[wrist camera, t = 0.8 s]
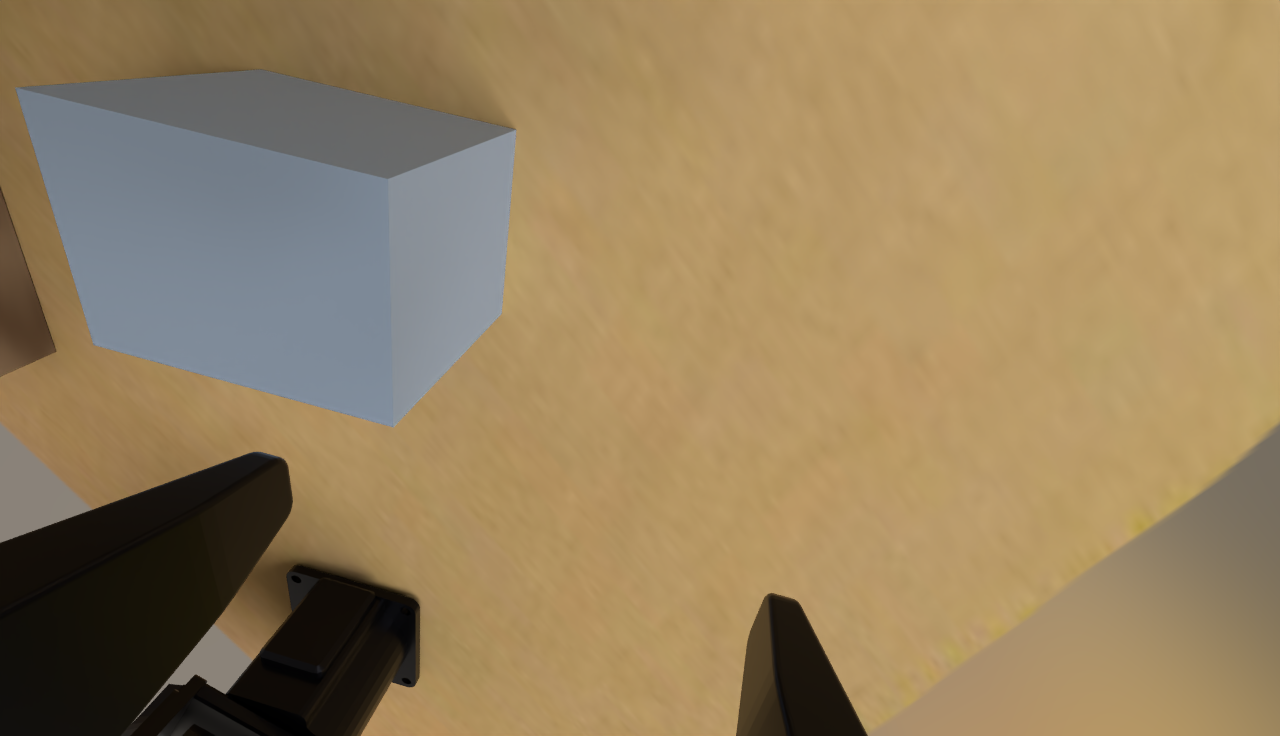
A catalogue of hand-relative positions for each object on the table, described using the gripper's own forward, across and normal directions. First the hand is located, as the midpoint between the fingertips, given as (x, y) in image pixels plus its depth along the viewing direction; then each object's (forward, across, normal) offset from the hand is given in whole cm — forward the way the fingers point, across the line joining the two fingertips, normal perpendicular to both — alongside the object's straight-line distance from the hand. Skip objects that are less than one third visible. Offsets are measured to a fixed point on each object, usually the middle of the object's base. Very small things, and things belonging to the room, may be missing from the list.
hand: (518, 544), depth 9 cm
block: (+12, +9, 0) cm, 15 cm away
